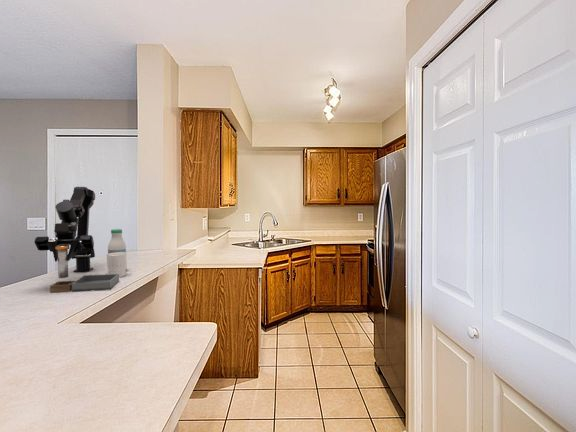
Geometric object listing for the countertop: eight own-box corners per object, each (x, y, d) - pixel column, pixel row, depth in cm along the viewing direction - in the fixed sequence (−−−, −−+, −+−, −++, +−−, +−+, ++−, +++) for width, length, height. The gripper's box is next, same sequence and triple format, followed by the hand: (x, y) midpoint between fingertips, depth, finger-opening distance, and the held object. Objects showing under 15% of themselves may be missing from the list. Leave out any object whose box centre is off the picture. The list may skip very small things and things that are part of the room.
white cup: (130, 274, 151) (130, 252, 150) (120, 278, 143) (119, 255, 142) (114, 273, 152) (113, 252, 151) (103, 277, 144) (102, 255, 143)
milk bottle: (108, 270, 157) (107, 228, 156) (126, 269, 161) (125, 228, 159) (107, 274, 150) (106, 230, 149) (126, 272, 154) (125, 229, 152)
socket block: (57, 287, 128) (57, 281, 128) (76, 286, 129) (76, 280, 129) (50, 292, 122) (50, 286, 122) (69, 291, 123) (69, 285, 123)
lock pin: (59, 275, 127) (58, 245, 126) (72, 275, 128) (71, 244, 127) (54, 278, 123) (53, 246, 122) (67, 278, 124) (66, 246, 123)
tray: (84, 282, 136) (84, 275, 136) (118, 280, 139) (118, 273, 139) (72, 291, 123) (71, 283, 123) (110, 289, 126) (110, 282, 126)
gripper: (35, 215, 124) (24, 249, 115) (91, 215, 131) (86, 246, 121) (42, 233, 132) (34, 266, 122) (96, 232, 139) (91, 263, 129)
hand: (61, 260), depth 124 cm, fingers closed on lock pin, 3 cm apart
